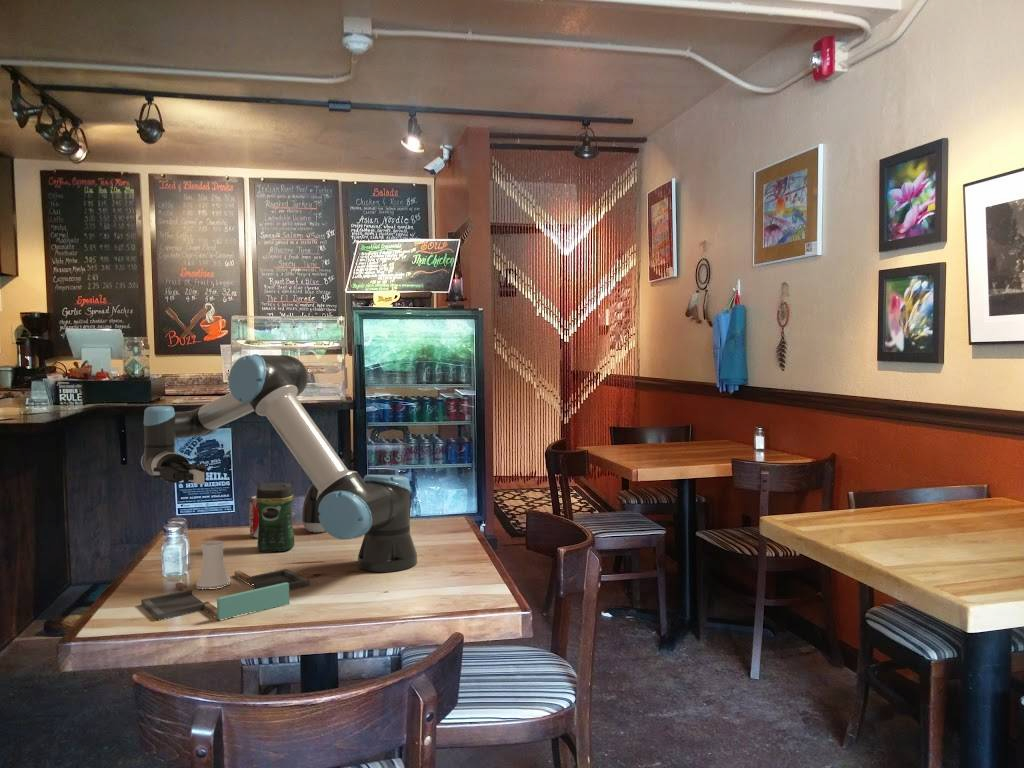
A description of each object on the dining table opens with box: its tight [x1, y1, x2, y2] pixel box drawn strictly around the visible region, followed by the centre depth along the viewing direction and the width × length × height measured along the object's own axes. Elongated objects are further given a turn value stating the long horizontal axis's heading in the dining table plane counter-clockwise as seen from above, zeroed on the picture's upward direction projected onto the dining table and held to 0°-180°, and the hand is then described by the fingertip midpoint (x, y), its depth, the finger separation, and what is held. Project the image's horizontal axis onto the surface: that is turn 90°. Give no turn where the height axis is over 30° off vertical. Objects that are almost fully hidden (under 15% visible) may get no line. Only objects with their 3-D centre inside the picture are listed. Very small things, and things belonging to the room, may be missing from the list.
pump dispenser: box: [301, 483, 326, 534], centre depth 218 cm, size 10×10×15 cm
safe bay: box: [216, 582, 290, 620], centre depth 148 cm, size 1×15×4 cm, turn 132°
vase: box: [195, 540, 232, 591], centre depth 166 cm, size 8×8×10 cm
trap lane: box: [141, 568, 310, 621], centre depth 159 cm, size 27×33×1 cm
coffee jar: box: [255, 482, 295, 553], centre depth 197 cm, size 10×8×19 cm
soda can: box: [248, 495, 259, 539], centre depth 212 cm, size 7×7×12 cm
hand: (201, 478), depth 170 cm, fingers closed
